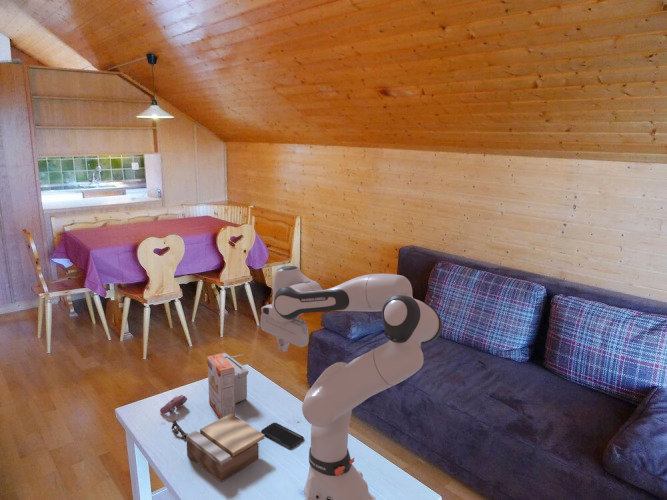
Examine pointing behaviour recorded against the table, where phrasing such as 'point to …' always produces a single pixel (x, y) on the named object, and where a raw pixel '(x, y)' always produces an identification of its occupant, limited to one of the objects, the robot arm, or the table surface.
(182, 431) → the wooden post with brackets
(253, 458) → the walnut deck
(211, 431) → the oak plank
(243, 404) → the table surface
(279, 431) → the phone
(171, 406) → the video game controller
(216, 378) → the cracker box
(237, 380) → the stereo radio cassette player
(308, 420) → the robot arm
